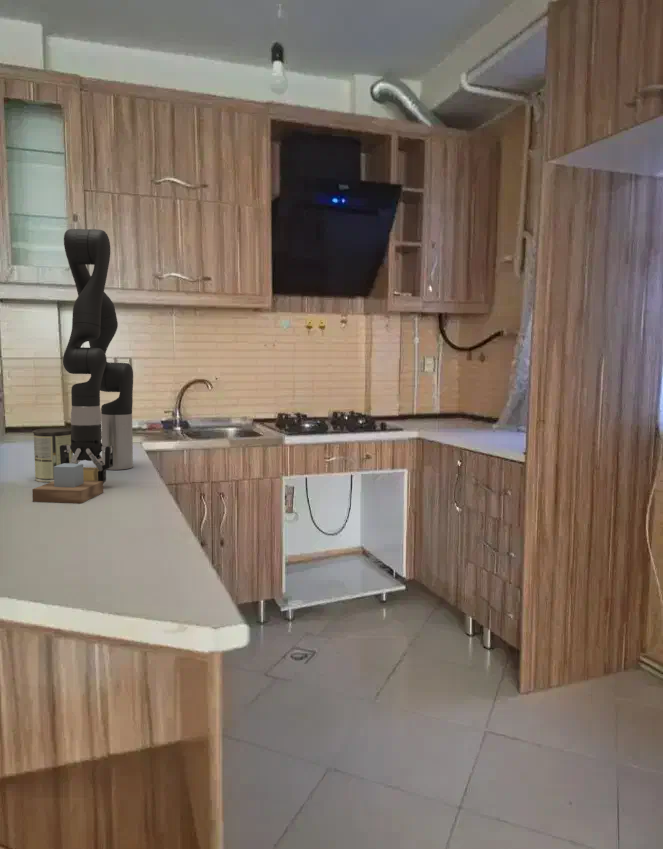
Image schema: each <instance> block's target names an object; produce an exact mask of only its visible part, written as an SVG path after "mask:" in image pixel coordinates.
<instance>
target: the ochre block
mask: <svg viewBox="0 0 663 849" xmlns="http://www.w3.org/2000/svg"><path fill="white" fill-rule="evenodd" d="M98 471H99V470H98V468H97V467H93V466H92V467H91V466H90V467H88V466H85V467H84V466H83V479H84V481H98Z"/></svg>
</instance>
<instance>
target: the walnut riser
mask: <svg viewBox="0 0 663 849" xmlns="http://www.w3.org/2000/svg"><path fill="white" fill-rule="evenodd" d="M31 491H32V502H38V503H60V504H61V503H62V504H63V503H64V504H68V503H69V504H82V503H85V502H87V501H89V500H91V499H93V498H95V497H97V496H99V495H101V494H103V493H104V484H103V481H84V483H83V484H81V485H79V486H76V487H54V481H53V482H47V483H45V484H42V485H40V486H38V487H35V488H32V490H31Z"/></svg>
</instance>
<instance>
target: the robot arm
mask: <svg viewBox="0 0 663 849" xmlns="http://www.w3.org/2000/svg"><path fill="white" fill-rule="evenodd" d="M63 246H64V252H65V256H66V259H67V262H68V265H69V268H70V272H71V274H72V277H73V281H74V284H75V287H76V291H77V298H76V299H75V302H74V304H73V308H72V321H71V332H70V336H69V340H68V342H67V346H66V347H65V350H64V353H63V356H62V357H63V358H62V366H63V368H64V369H65V371H66V372H67V373H69V374H72V375H90V378H89V379H88V380H87V381H85V382H78V383H74V384H73V385H72V386H71V391H70V392H71V396H70V397H71V399H70V400H71V409H70V410H71V411H70V429H71V440H72V443H71V445H67V444H65V445H61V446H60V461H61V464H63V463H69V452H70V449H71V450H72V452H73V457H72V459H71V460H70V461H71V462H70V463H71V464H80V462H82V461H88V462H92V463H93V464H94V465H95V466H96V468H98V470H99V471H98V481H103V485H105V482H106V481H107V470H108V471H109V470H113V471H114V470H115V471H116V470H117V471H118V470H128V469H132V468H133V467H134V464H133V463H134V461H133V460H134V458H133V457H134V456H133V455H134V454H133V453H134V451H133V448H134V447H133V444H134V443H133V439H134V436H133V397H134V396H133V395H134V394H133V392H134V390H133V388H134V370H133V367H132V365H131V364H130V363H129V362H108V360H107V355H106V353H107V351H108V348H109V346H110V344H111V342H112V340H113V339H114V337H115V335H116V332H117V330H118V327H119V326H118V325H119V322H118V318H117V313H116V308H115V304H114V302H113V301H112V299H111V297H109V295H108V294H107V293H106V292H105V288H106V284H107V283H106V282H107V277H108V272H109V266H110V261H111V242H110V238H109V236H108V233H106V231H105V230H103V229H93V228H92V229H91V228H90V229H89V228H71V229H70V228H69V229H66V231H65V232H64V235H63ZM88 265H89V266H90V265H91V266H92V265H93V270H92V273H91V274H90V272H89V270H88V267H87V266H88ZM87 342H88V344H89V347H82V346H83V345H84V344H85V343H87ZM101 392H104V393H105V392H106V393H119V396H118V397H117V398H116V399H114V400H112V401H110V402H106V403H104V404H102V405H101Z"/></svg>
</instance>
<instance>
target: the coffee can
mask: <svg viewBox="0 0 663 849" xmlns="http://www.w3.org/2000/svg"><path fill="white" fill-rule="evenodd" d="M32 433H33V447H34V448H33V449H34V450H33V451H34V453H33V454H34V473H35V474H34V475H35V479H34V481H36V482H38V483H39V482H41V483H50V482H53V481H54V466H57V465H60V464H61V461H60V446H61V445H65V444H67V445H71V443H72V440H71V428H68V427H52V428H51V427H50V428H38V429H33V431H32ZM73 455H74V453H73V452H72V450H71V449H70V452H69V463H70V462H71V461H70V460H71V459H72V457H73Z"/></svg>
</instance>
